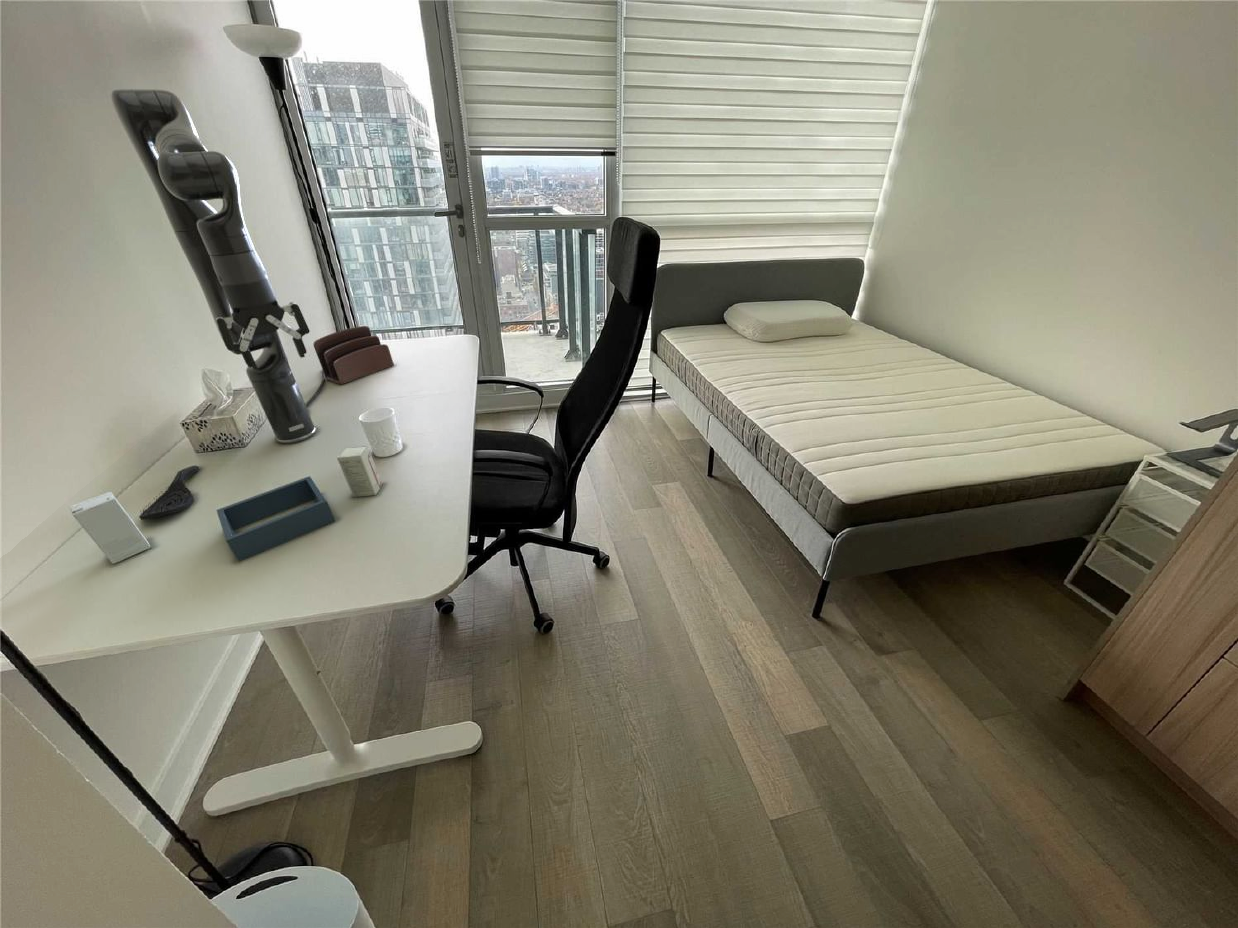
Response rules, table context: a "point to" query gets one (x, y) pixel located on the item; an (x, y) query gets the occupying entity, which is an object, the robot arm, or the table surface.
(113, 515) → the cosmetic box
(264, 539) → the blue open box
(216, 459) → the table surface
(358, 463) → the white rectangular carton
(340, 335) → the letter holder
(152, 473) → the table surface
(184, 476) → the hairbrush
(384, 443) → the white cup
